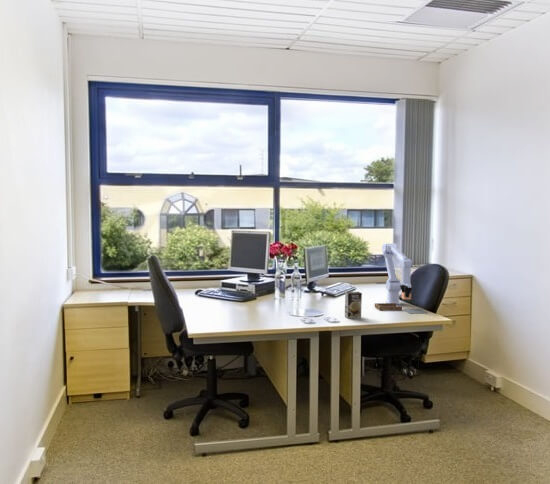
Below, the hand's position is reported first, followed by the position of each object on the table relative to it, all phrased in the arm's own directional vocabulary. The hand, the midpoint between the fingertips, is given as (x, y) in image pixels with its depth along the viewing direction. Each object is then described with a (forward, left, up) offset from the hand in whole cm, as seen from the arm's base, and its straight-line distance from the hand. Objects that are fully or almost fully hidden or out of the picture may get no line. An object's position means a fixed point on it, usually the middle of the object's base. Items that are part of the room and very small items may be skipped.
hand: (405, 296), depth 337 cm
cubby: (0, -12, -8) cm, 15 cm away
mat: (+10, +3, -8) cm, 13 cm away
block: (0, 0, -2) cm, 2 cm away
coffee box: (+24, -43, -9) cm, 50 cm away
